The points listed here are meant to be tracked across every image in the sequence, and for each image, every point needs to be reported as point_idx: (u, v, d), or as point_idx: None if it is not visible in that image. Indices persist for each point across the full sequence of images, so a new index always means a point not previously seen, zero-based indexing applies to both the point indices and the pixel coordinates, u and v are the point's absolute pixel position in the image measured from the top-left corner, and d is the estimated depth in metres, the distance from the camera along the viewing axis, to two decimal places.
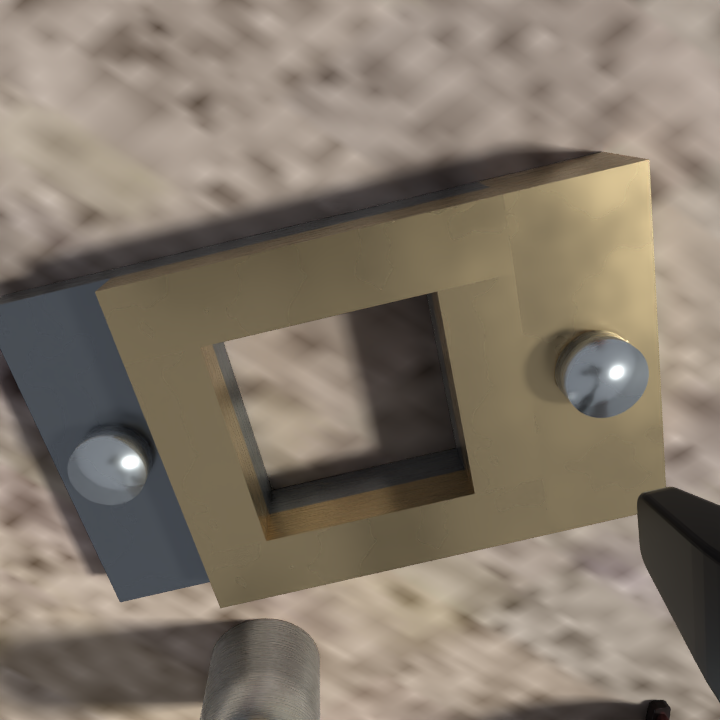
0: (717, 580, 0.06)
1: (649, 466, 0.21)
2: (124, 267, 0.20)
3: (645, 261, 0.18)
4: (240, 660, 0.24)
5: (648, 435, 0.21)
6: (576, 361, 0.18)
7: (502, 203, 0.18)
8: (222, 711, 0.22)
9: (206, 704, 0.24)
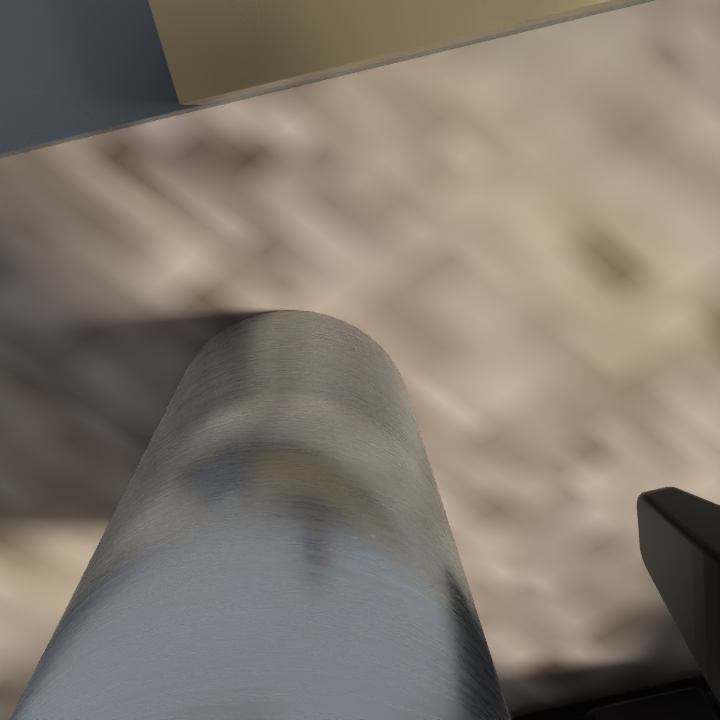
0: (717, 580, 0.06)
1: None
2: None
3: None
4: (237, 356, 0.10)
5: None
6: None
7: None
8: (187, 429, 0.08)
9: (148, 445, 0.09)
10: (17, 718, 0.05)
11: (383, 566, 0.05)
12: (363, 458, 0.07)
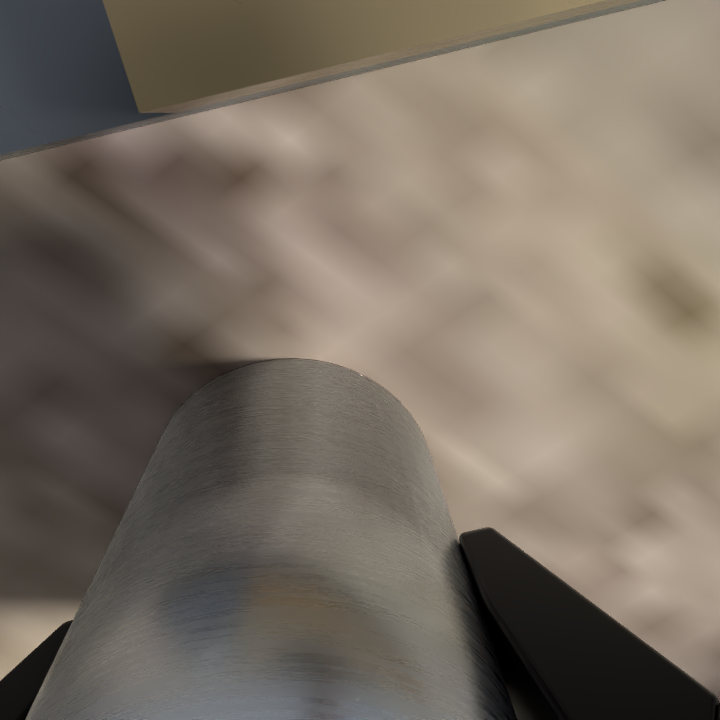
0: (492, 629, 0.06)
1: None
2: None
3: None
4: (223, 427, 0.08)
5: None
6: None
7: None
8: (151, 546, 0.06)
9: (107, 549, 0.07)
10: None
11: None
12: (392, 603, 0.05)
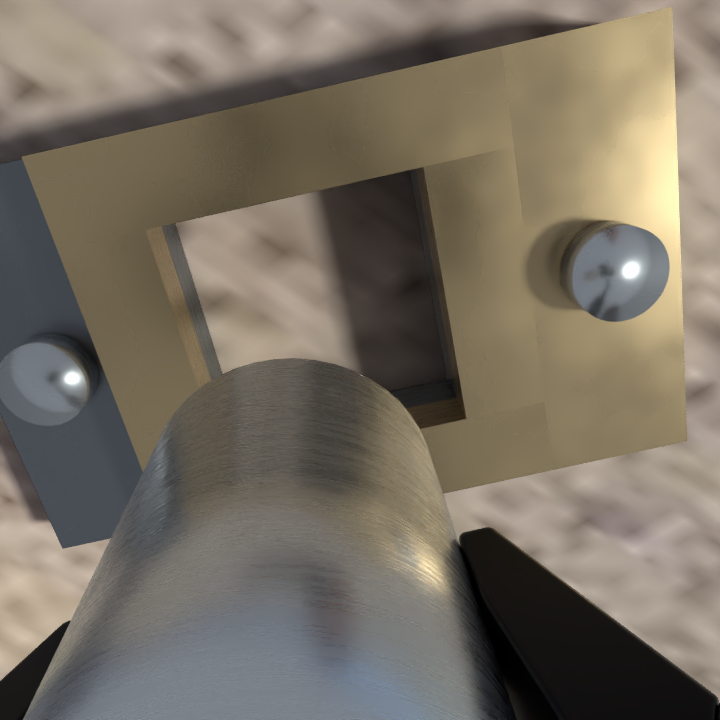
0: (492, 629, 0.06)
1: (667, 390, 0.18)
2: None
3: (666, 135, 0.16)
4: (222, 427, 0.08)
5: (667, 352, 0.18)
6: (585, 250, 0.16)
7: (500, 58, 0.15)
8: (149, 547, 0.06)
9: (106, 549, 0.07)
10: None
11: None
12: (391, 603, 0.05)
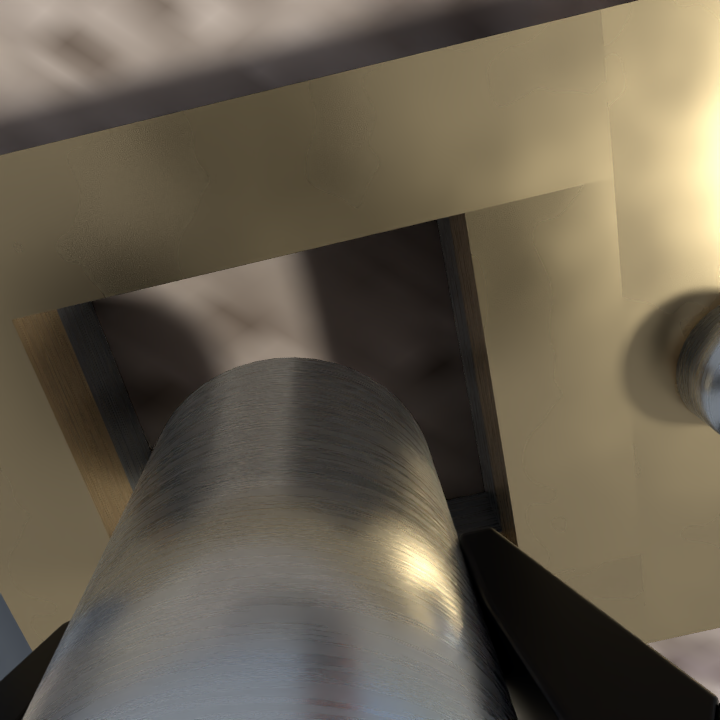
0: (492, 629, 0.06)
1: None
2: None
3: None
4: (222, 426, 0.08)
5: None
6: None
7: (597, 29, 0.09)
8: (148, 545, 0.06)
9: (105, 548, 0.07)
10: None
11: None
12: (391, 603, 0.05)
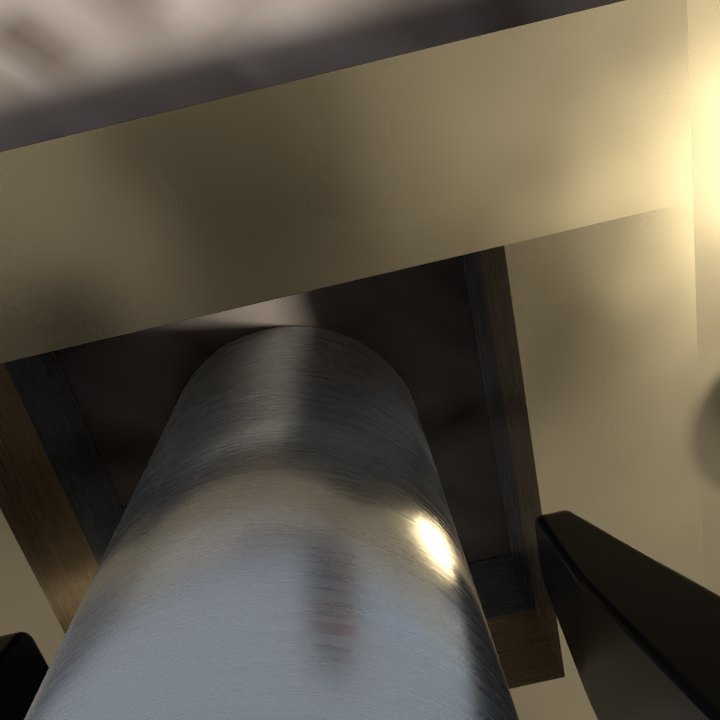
0: (587, 608, 0.06)
1: None
2: None
3: None
4: (238, 377, 0.09)
5: None
6: None
7: (680, 12, 0.07)
8: (182, 461, 0.07)
9: (142, 475, 0.08)
10: None
11: (403, 632, 0.05)
12: (376, 497, 0.07)
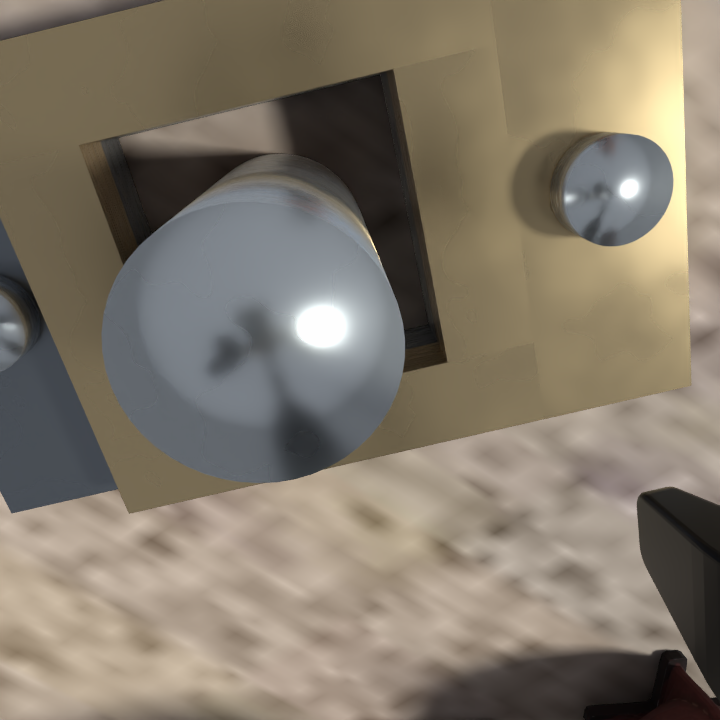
0: (717, 580, 0.06)
1: (669, 328, 0.16)
2: None
3: (670, 30, 0.14)
4: (246, 164, 0.15)
5: (669, 284, 0.16)
6: (578, 162, 0.14)
7: None
8: (218, 181, 0.14)
9: None
10: None
11: (322, 197, 0.11)
12: (319, 184, 0.13)
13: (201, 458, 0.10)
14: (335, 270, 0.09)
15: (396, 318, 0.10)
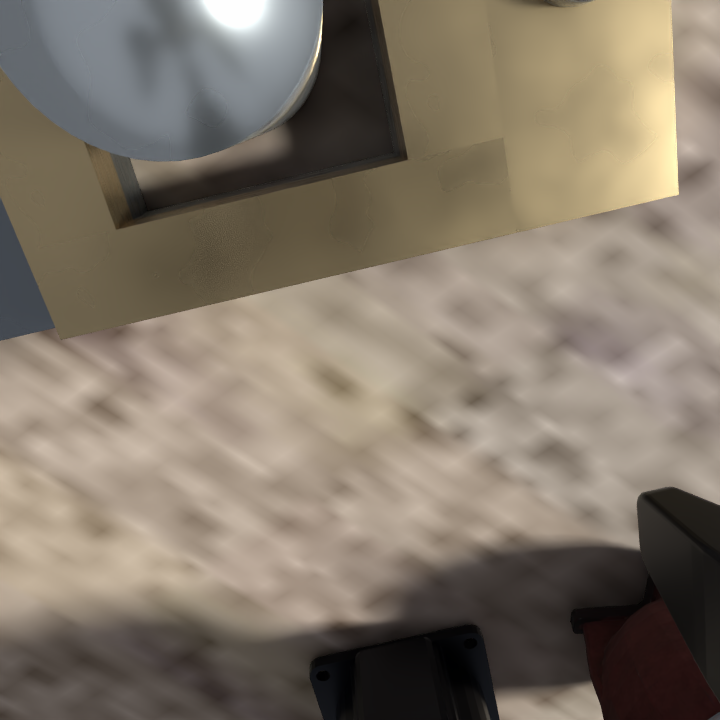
0: (717, 580, 0.06)
1: (653, 123, 0.15)
2: None
3: None
4: None
5: (652, 68, 0.14)
6: None
7: None
8: None
9: None
10: None
11: None
12: None
13: (88, 123, 0.09)
14: None
15: None
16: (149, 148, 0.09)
